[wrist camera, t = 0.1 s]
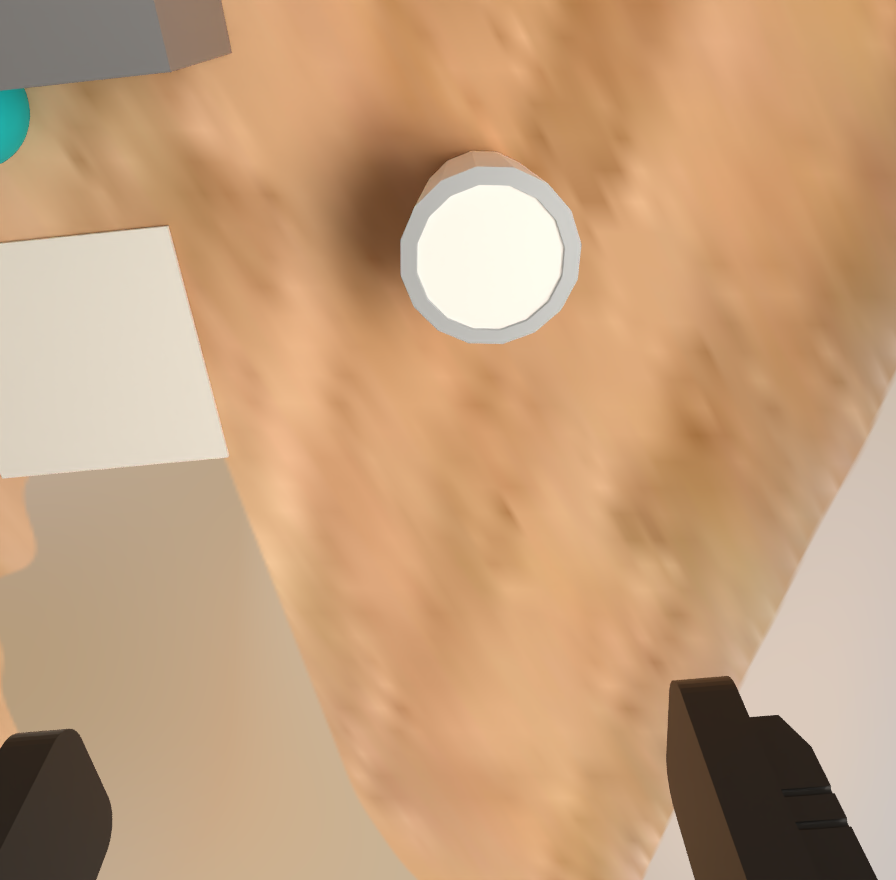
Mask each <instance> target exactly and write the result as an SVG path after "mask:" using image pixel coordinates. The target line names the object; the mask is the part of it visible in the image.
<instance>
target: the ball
mask: <svg viewBox="0 0 896 880" xmlns="http://www.w3.org/2000/svg"><path fill="white" fill-rule="evenodd" d="M29 121H30V109H29V102H28V98H27V94H26V92H25V89H24V88H20V89H11V90H2V91H0V164H1V163H3V162H5V161H6V160H8V159H9V158H10V157H11V156H13V155H14V153H15V152H16V151H17V150H18V149H19V148H20V146H21V145H22V143H23V142H24V139H25V137H26V135H27V131H28V127H29Z"/></svg>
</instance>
